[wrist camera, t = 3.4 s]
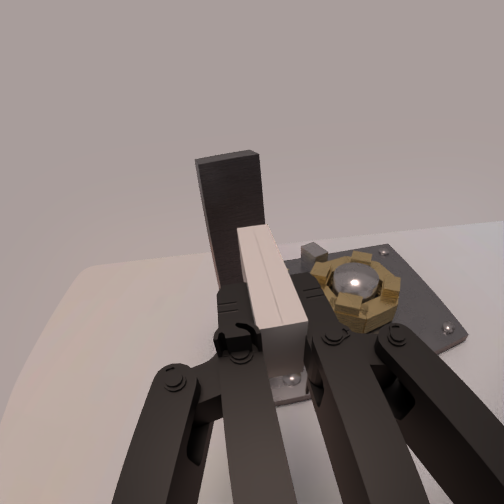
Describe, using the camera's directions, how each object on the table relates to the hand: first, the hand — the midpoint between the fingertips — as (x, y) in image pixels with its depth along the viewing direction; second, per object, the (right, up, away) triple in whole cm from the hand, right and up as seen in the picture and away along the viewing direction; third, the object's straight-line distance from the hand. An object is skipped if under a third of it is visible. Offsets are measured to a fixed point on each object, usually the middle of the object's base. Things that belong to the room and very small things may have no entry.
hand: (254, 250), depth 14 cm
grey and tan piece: (+7, -6, +14) cm, 17 cm away
